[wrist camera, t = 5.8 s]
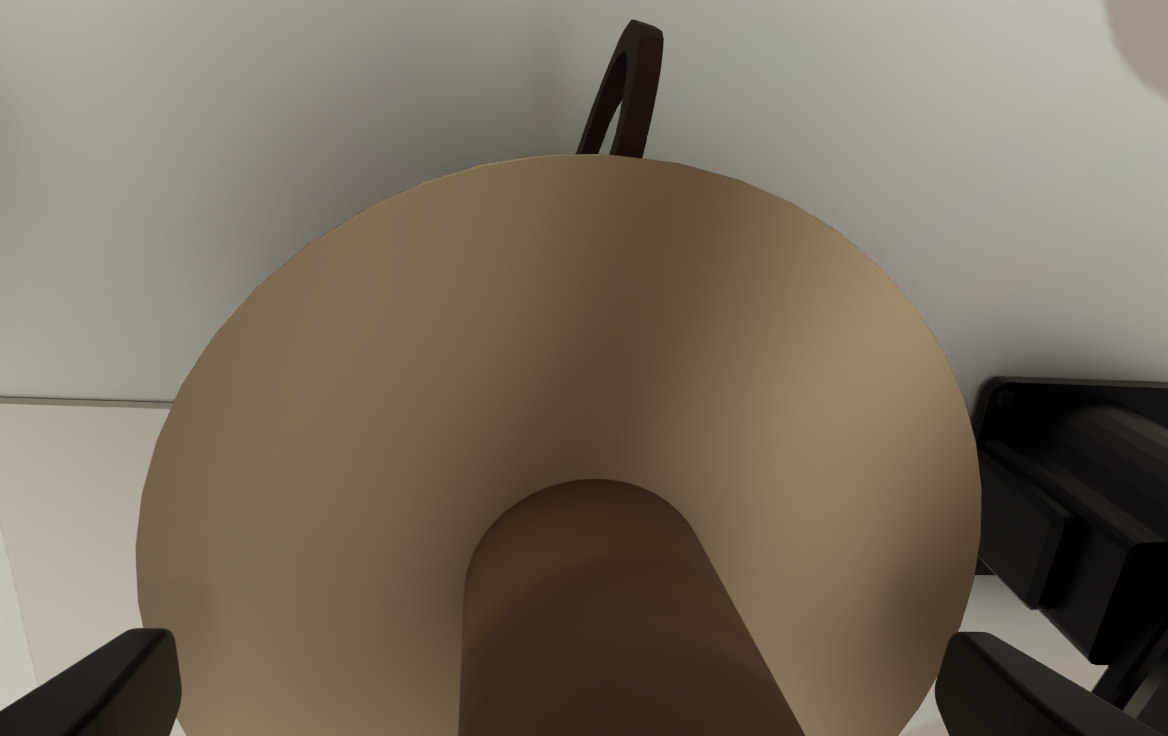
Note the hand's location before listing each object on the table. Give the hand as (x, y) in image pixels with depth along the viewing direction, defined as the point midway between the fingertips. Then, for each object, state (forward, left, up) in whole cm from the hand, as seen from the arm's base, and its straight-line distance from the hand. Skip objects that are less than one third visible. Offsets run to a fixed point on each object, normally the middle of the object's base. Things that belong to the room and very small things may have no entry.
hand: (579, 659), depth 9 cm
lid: (0, 0, -2) cm, 2 cm away
